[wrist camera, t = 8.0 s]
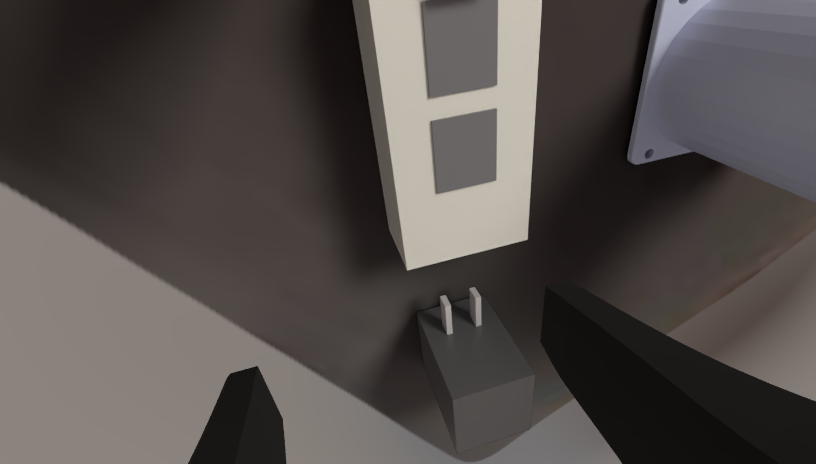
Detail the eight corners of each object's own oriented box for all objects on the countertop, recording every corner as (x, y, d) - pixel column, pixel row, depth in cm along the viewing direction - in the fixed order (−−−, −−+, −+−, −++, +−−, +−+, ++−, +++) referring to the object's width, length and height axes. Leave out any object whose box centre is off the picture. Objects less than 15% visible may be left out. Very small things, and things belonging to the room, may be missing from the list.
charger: (483, 266, 23) (538, 344, 18) (484, 347, 26) (530, 430, 21) (412, 285, 22) (450, 370, 17) (423, 365, 25) (457, 454, 21)
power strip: (497, -423, 11) (596, -601, 7) (494, 204, 21) (534, 247, 18) (283, -429, 10) (286, -633, 6) (389, 229, 20) (410, 279, 17)
